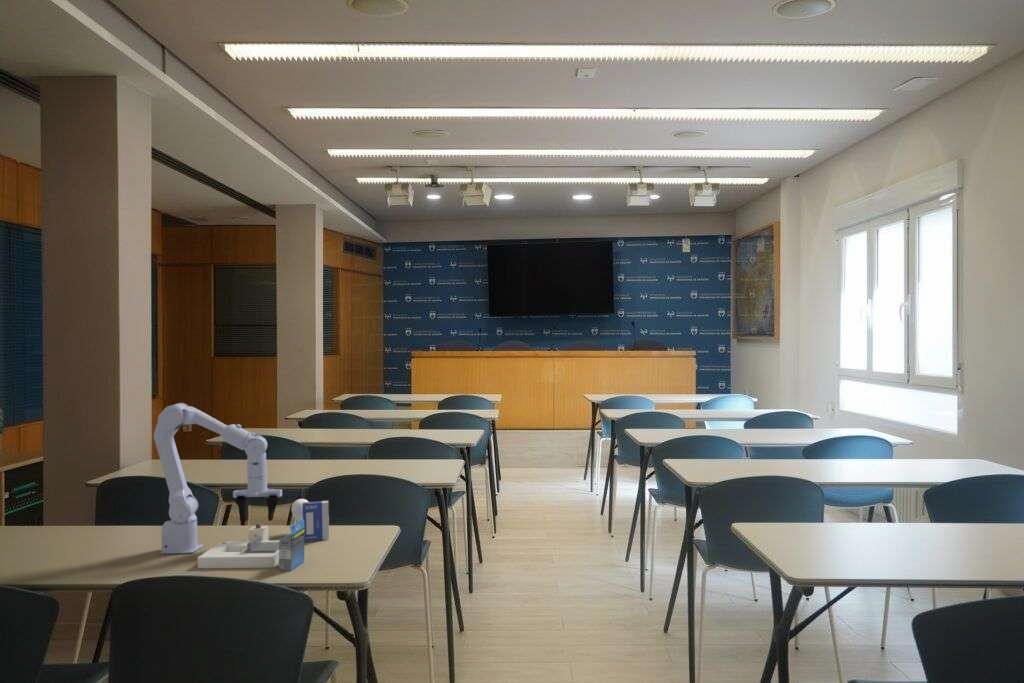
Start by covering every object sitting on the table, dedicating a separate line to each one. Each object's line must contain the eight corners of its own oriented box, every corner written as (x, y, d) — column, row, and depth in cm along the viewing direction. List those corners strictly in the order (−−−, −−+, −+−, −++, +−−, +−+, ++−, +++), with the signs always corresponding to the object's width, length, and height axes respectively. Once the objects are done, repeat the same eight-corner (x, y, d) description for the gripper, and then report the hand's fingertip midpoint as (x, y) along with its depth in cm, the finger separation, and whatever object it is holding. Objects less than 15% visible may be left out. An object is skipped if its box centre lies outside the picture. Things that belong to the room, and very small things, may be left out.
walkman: (303, 541, 230) (302, 503, 230) (303, 539, 233) (302, 501, 233) (329, 539, 232) (328, 501, 232) (329, 537, 235) (328, 499, 235)
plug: (248, 548, 224) (248, 526, 224) (254, 543, 229) (253, 522, 229) (263, 547, 224) (262, 526, 224) (268, 543, 229) (268, 522, 229)
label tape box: (292, 561, 210) (291, 518, 210) (305, 561, 210) (304, 518, 210) (278, 571, 201) (277, 526, 201) (292, 571, 201) (291, 526, 201)
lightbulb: (305, 535, 237) (305, 501, 237) (288, 535, 238) (287, 500, 238) (314, 530, 243) (314, 497, 243) (297, 530, 244) (296, 496, 244)
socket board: (197, 568, 205) (197, 556, 205) (221, 551, 221) (221, 540, 221) (273, 567, 205) (272, 555, 205) (291, 550, 221) (291, 539, 221)
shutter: (245, 552, 209) (244, 543, 208) (256, 544, 217) (255, 535, 217) (275, 552, 208) (274, 543, 208) (284, 543, 217) (284, 535, 217)
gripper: (228, 479, 223) (229, 524, 223) (276, 478, 223) (277, 523, 223) (237, 474, 230) (238, 518, 230) (284, 473, 230) (285, 517, 230)
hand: (258, 520), depth 227 cm, fingers open, 7 cm apart
